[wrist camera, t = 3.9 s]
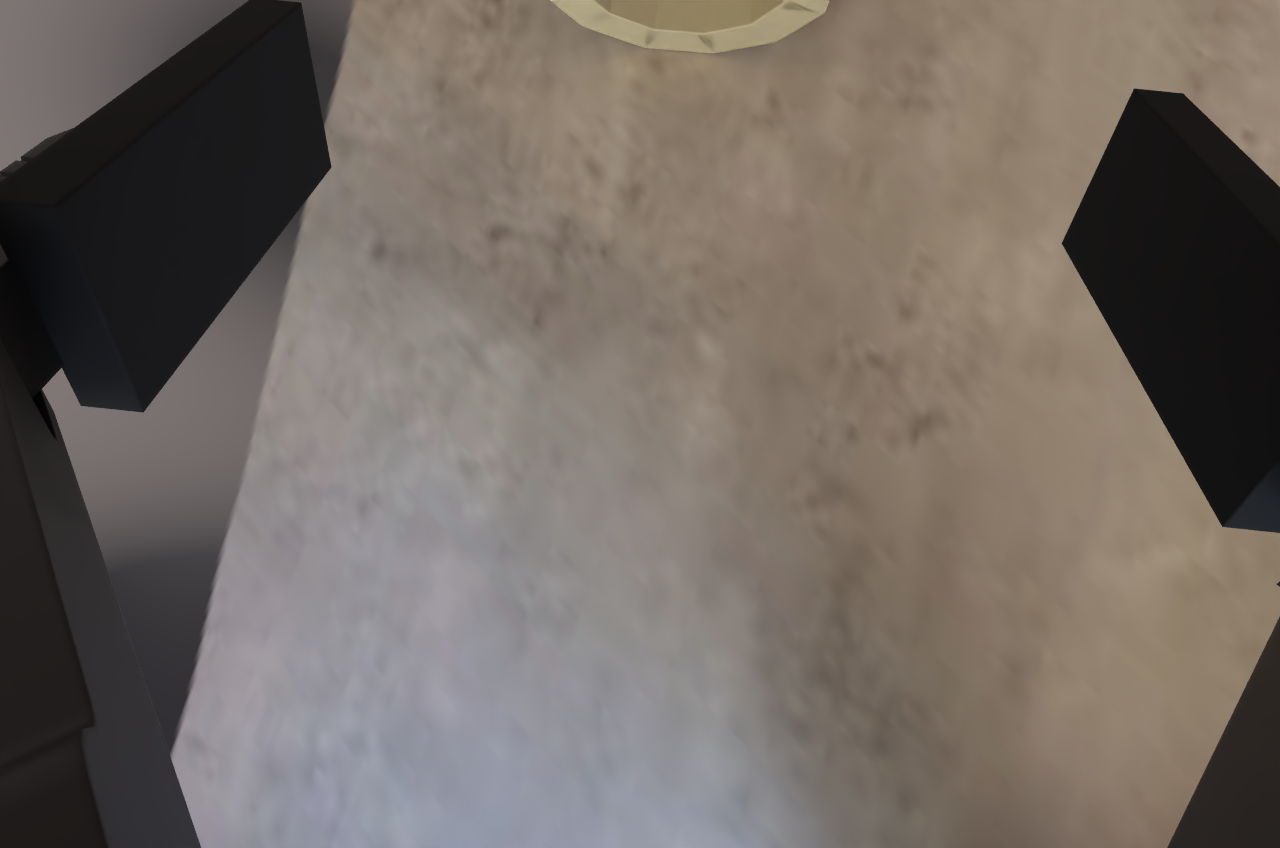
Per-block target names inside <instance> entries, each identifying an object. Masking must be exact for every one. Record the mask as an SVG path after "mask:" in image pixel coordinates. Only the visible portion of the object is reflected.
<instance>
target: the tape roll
mask: <svg viewBox="0 0 1280 848" xmlns="http://www.w3.org/2000/svg"><path fill="white" fill-rule="evenodd" d="M550 1H551V2H552V3H554V4H555V5H556V6H557V7H559V8H560V9H561V10H562V11H564V12H565V13H566V14H567V15H569V16H570V17H571V18H572V19H574V20H575V21H576V22H577V23H579V24H580V25H581V26H583V27H585V28H588V29H591V30H594V31H597V32H600V33H603V34H606V35H608V36H611V37H614V38H617V39H620V40H623V41H626V42H629V43H632V44H634V45H637V46H640V47H643V48H652V49H665V50H677V51H689V52H701V53H719V52H724V51H730V50H736V49H741V48H747V47H752V46H758V45H763V44H769V43H775V42H777V41H779V40H781V39H783V38H784V37H786V36H788V35H789V34H791V33H793V32H794V31H796V30H798V29H799V28H801V27H803V26H804V25H806V24H808V23H809V22H811V21H813V20H814V19H816V18H818V17H819V16H821V15H823V14H824V12H826V10H827V7H828V4H829V1H830V0H550Z"/></svg>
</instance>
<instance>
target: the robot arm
mask: <svg viewBox="0 0 1280 848" xmlns="http://www.w3.org/2000/svg"><path fill="white" fill-rule="evenodd" d="M330 168H331V162H330V157H329V152H328V146H327V141H326V135H325V130H324V124H323V119H322V114H321V108H320V103H319V97H318V92H317V86H316V81H315V76H314V70H313V65H312V59H311V54H310V48H309V43H308V38H307V32H306V27H305V21H304V16H303V10H302V5H301V3H299V2H289V1H279V0H249V1H248V2H246V3H245V4H244V5H242V6H241V7H239V8H238V9H237V10H235V11H234V12H233V13H232V14H230V15H229V16H227V17H226V18H224V19H223V20H222V21H220V22H219V23H218V24H216V25H215V26H213V27H212V28H211V29H210V30H208V31H207V32H205V33H204V34H202V35H201V36H200V37H198V38H197V39H196V40H194V41H193V42H192V43H190V44H189V45H187V46H186V47H185V48H183V49H182V50H180V51H179V52H178V53H176V54H175V55H174V56H172V57H171V58H169V60H167V61H165V62H164V63H163V64H161V65H160V66H159V67H157V68H156V69H155V70H153V71H152V72H150V73H149V74H148V75H146V76H145V77H143V78H142V79H141V80H139V81H138V82H137V83H135V84H134V85H132V86H131V87H130V88H128V89H127V90H126V91H124V92H123V93H122V94H120V95H119V96H117V97H116V98H115V99H113V100H112V101H111V102H109V103H108V104H106V105H105V106H104V107H102V108H101V109H100V110H98V111H97V112H96V113H94V114H93V115H91V116H90V117H89V118H87V119H86V120H85V121H83V122H82V123H80V124H79V125H78V126H76V127H75V128H72V129H70V130H67V131H64V132H62V133H59V134H57V135H54V136H52V137H49V138H47V139H45V140H44V141H43V142H41V143H40V144H38V145H37V146H35V147H34V148H33V149H31V150H30V151H28V152H27V153H26V154H24V155H23V156H21V161H15V162H13V163H12V164H10V165H9V166H8V167H6V168H5V169H3V170H2V171H1V172H0V848H201V846H200V843H199V840H198V837H197V834H196V831H195V828H194V825H193V822H192V819H191V816H190V813H189V811H188V808H187V805H186V802H185V799H184V796H183V793H182V790H181V787H180V784H179V781H178V778H177V775H176V772H175V769H174V766H173V763H172V760H171V757H170V754H169V752H168V748H167V745H166V742H165V740H164V737H163V734H162V731H161V728H160V725H159V722H158V719H157V716H156V713H155V710H154V707H153V704H152V701H151V698H150V695H149V692H148V689H147V686H146V683H145V680H144V677H143V674H142V672H141V669H140V665H139V662H138V660H137V657H136V654H135V651H134V648H133V645H132V642H131V639H130V636H129V633H128V630H127V627H126V624H125V621H124V618H123V615H122V612H121V609H120V607H119V603H118V600H117V598H116V594H115V592H114V589H113V585H112V583H111V580H110V577H109V574H108V571H107V568H106V565H105V562H104V559H103V556H102V553H101V550H100V547H99V544H98V541H97V538H96V535H95V532H94V529H93V527H92V524H91V520H90V517H89V514H88V511H87V509H86V506H85V503H84V500H83V497H82V494H81V491H80V488H79V485H78V482H77V479H76V476H75V473H74V470H73V467H72V464H71V461H70V458H69V456H68V452H67V449H66V446H65V443H64V441H63V438H62V435H61V432H60V429H59V426H58V423H57V420H56V417H55V414H54V411H53V409H52V408H51V405H50V404H49V402H48V400H47V398H46V396H45V394H44V392H43V390H42V388H43V387H44V386H45V385H46V384H47V382H49V380H50V379H51V378H52V377H53V376H54V375H55V374H56V373H57V372H58V371H59V370H60V369H61V368H62V369H63V371H64V373H65V375H66V377H67V379H68V381H69V383H70V385H71V387H72V388H73V391H74V393H75V395H76V397H77V399H78V401H79V403H80V404H81V406H88V407H98V408H107V409H117V410H126V411H136V412H144V411H145V410H146V408H147V407H148V406H149V404H150V403H151V402H152V400H153V399H154V398H155V396H156V395H157V394H158V393H159V391H160V390H161V389H162V387H163V386H164V385H165V384H166V382H167V381H168V380H169V378H170V377H171V376H172V374H173V373H174V372H175V370H176V369H177V368H178V366H179V365H180V364H181V363H182V361H183V360H184V359H185V357H186V356H187V355H188V354H189V352H190V351H191V350H192V348H193V347H194V346H195V344H196V343H197V342H198V341H199V339H200V338H201V337H202V335H203V334H204V333H205V331H206V330H207V329H208V327H209V326H210V325H211V324H212V322H213V321H214V320H215V318H216V317H217V316H218V314H219V313H220V312H221V310H222V309H223V308H224V307H225V305H226V304H227V303H228V301H229V300H230V299H231V298H232V296H233V295H234V294H235V292H236V291H237V290H238V288H239V287H240V286H241V284H242V283H243V282H244V281H245V279H246V278H247V277H248V275H249V274H250V273H251V271H252V270H253V269H254V267H255V266H256V265H257V264H258V262H259V261H260V260H261V258H262V257H263V256H264V254H265V253H266V252H267V250H268V249H269V248H270V247H271V245H272V244H273V243H274V241H275V240H276V239H277V237H278V236H279V235H280V234H281V232H282V231H283V230H284V228H285V227H286V226H287V225H288V223H289V222H290V221H291V219H292V218H293V217H294V215H295V214H296V212H297V211H298V210H299V209H300V207H301V206H302V205H303V204H304V202H305V201H306V200H307V198H308V197H309V196H310V195H311V193H312V192H313V191H314V189H315V188H316V187H317V185H318V184H319V183H320V181H321V180H322V179H323V178H324V176H325V175H326V174H327V172H328V171H329V170H330ZM1062 245H1063V246H1064V248H1065V250H1066V252H1067V253H1068V255H1069V257H1070V259H1071V260H1072V262H1073V264H1074V266H1075V268H1076V269H1077V271H1078V273H1079V275H1080V276H1081V278H1082V280H1083V282H1084V283H1085V285H1086V287H1087V289H1088V290H1089V292H1090V294H1091V296H1092V298H1093V299H1094V301H1095V303H1096V305H1097V306H1098V308H1099V310H1100V312H1101V313H1102V315H1103V317H1104V319H1105V320H1106V322H1107V324H1108V326H1109V328H1110V329H1111V331H1112V333H1113V335H1114V336H1115V338H1116V340H1117V342H1118V343H1119V345H1120V347H1121V349H1122V350H1123V352H1124V354H1125V356H1126V358H1127V359H1128V361H1129V363H1130V365H1131V366H1132V368H1133V370H1134V372H1135V373H1136V375H1137V377H1138V379H1139V380H1140V382H1141V384H1142V386H1143V388H1144V389H1145V391H1146V393H1147V395H1148V396H1149V398H1150V400H1151V402H1152V403H1153V405H1154V407H1155V409H1156V410H1157V412H1158V414H1159V416H1160V417H1161V419H1162V421H1163V423H1164V425H1165V426H1166V428H1167V430H1168V432H1169V433H1170V435H1171V437H1172V439H1173V440H1174V442H1175V444H1176V446H1177V447H1178V449H1179V451H1180V453H1181V455H1182V456H1183V458H1184V460H1185V462H1186V463H1187V465H1188V467H1189V469H1190V470H1191V472H1192V474H1193V476H1194V477H1195V479H1196V481H1197V483H1198V485H1199V486H1200V488H1201V490H1202V492H1203V493H1204V495H1205V497H1206V499H1207V500H1208V502H1209V504H1210V506H1211V507H1212V509H1213V511H1214V513H1215V515H1216V516H1217V518H1218V520H1219V522H1220V523H1221V525H1222V527H1229V528H1239V529H1248V530H1258V531H1267V532H1276V533H1280V187H1279V186H1278V185H1277V184H1276V183H1275V182H1274V181H1273V180H1272V179H1271V178H1270V177H1269V176H1268V175H1267V174H1266V173H1265V172H1264V171H1263V170H1262V169H1260V168H1259V167H1258V166H1257V165H1256V164H1255V163H1254V162H1253V161H1252V160H1251V159H1250V158H1249V157H1248V156H1247V155H1246V154H1245V153H1244V152H1243V151H1242V150H1241V149H1240V148H1239V147H1238V146H1237V145H1236V144H1235V143H1234V142H1233V141H1232V140H1231V139H1229V138H1228V137H1227V136H1226V135H1225V134H1224V133H1223V132H1222V131H1221V130H1220V129H1219V128H1218V127H1217V126H1216V125H1215V124H1214V123H1213V122H1212V121H1211V120H1210V119H1209V118H1208V117H1207V116H1206V115H1205V114H1204V113H1203V112H1202V111H1201V110H1200V109H1198V108H1197V107H1196V106H1195V105H1194V104H1193V103H1192V102H1191V101H1190V100H1189V99H1188V98H1187V97H1186V96H1185V95H1184V94H1182V93H1172V92H1162V91H1153V90H1143V89H1134V90H1133V92H1132V94H1131V97H1130V99H1129V101H1128V103H1127V105H1126V107H1125V109H1124V111H1123V114H1122V116H1121V118H1120V120H1119V122H1118V124H1117V126H1116V129H1115V131H1114V133H1113V135H1112V137H1111V139H1110V141H1109V144H1108V146H1107V148H1106V150H1105V152H1104V154H1103V156H1102V159H1101V161H1100V163H1099V165H1098V167H1097V169H1096V171H1095V173H1094V176H1093V178H1092V180H1091V182H1090V184H1089V186H1088V188H1087V191H1086V193H1085V195H1084V197H1083V199H1082V201H1081V203H1080V206H1079V208H1078V210H1077V212H1076V214H1075V216H1074V218H1073V221H1072V223H1071V225H1070V227H1069V229H1068V231H1067V233H1066V235H1065V238H1064V240H1063V242H1062ZM1277 585H1278V586H1280V582H1279V583H1278V584H1277ZM1168 848H1280V617H1279V619H1278V621H1277V623H1276V626H1275V628H1274V630H1273V632H1272V634H1271V636H1270V638H1269V640H1268V642H1267V644H1266V646H1265V648H1264V650H1263V652H1262V654H1261V656H1260V658H1259V660H1258V663H1257V665H1256V667H1255V669H1254V671H1253V673H1252V675H1251V677H1250V679H1249V681H1248V683H1247V685H1246V687H1245V689H1244V691H1243V693H1242V695H1241V697H1240V700H1239V702H1238V704H1237V706H1236V708H1235V710H1234V712H1233V714H1232V716H1231V718H1230V720H1229V722H1228V724H1227V726H1226V728H1225V730H1224V732H1223V734H1222V737H1221V739H1220V741H1219V743H1218V745H1217V747H1216V749H1215V751H1214V753H1213V755H1212V757H1211V759H1210V761H1209V763H1208V765H1207V767H1206V769H1205V771H1204V774H1203V776H1202V778H1201V780H1200V782H1199V784H1198V786H1197V788H1196V790H1195V792H1194V794H1193V796H1192V798H1191V800H1190V802H1189V804H1188V806H1187V808H1186V811H1185V813H1184V815H1183V817H1182V819H1181V821H1180V823H1179V825H1178V827H1177V829H1176V831H1175V833H1174V835H1173V837H1172V839H1171V841H1170V843H1169V845H1168Z"/></svg>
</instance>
